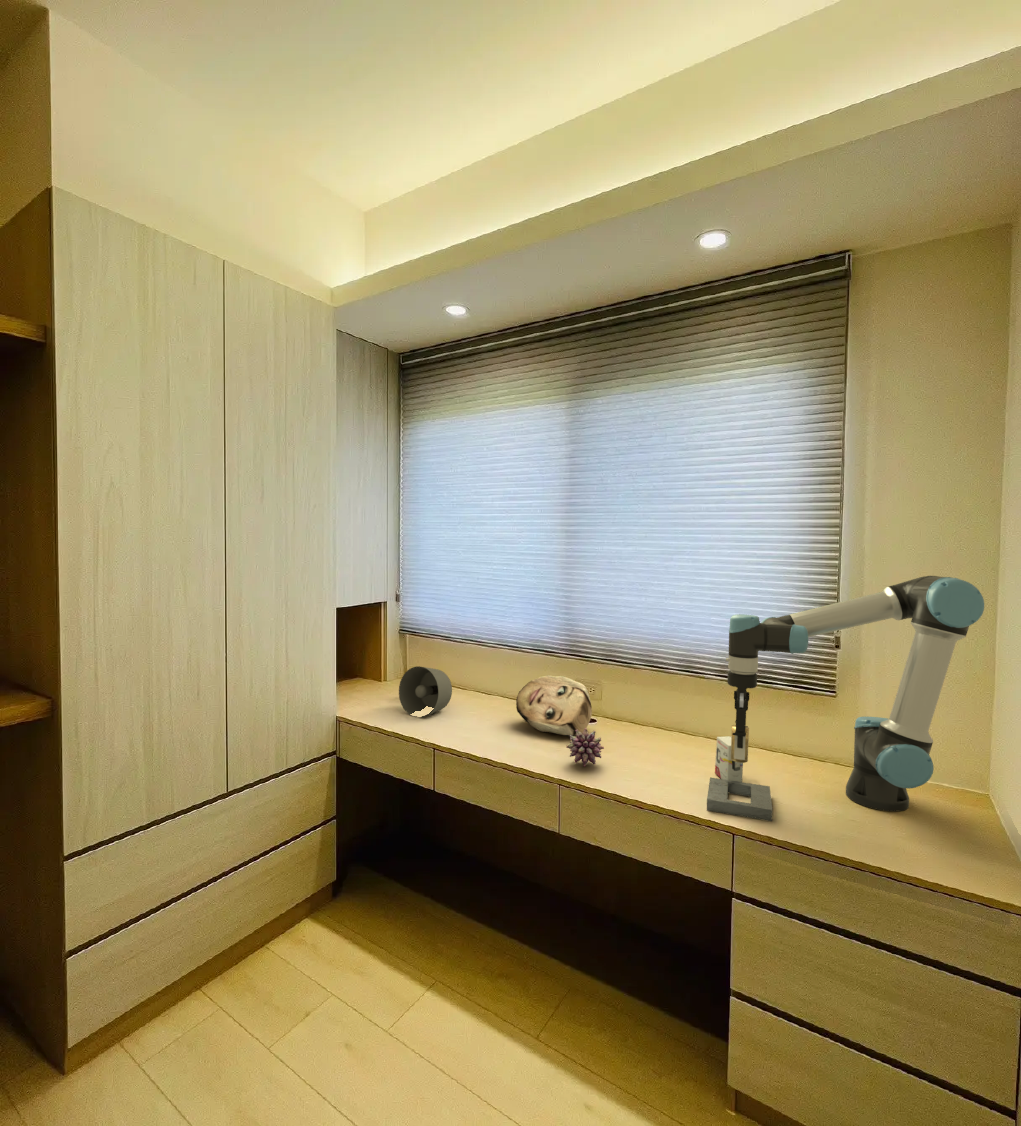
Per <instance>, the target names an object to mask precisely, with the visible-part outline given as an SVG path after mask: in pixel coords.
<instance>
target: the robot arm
mask: <svg viewBox="0 0 1021 1126" xmlns="http://www.w3.org/2000/svg"><path fill="white" fill-rule="evenodd" d="M984 611H985V600H984V596H983V594H982V593H981V591H980V590H979V589H978V588H977V587H976V586H975V585H974V584H972V583H970V582H969V581H966V580H964V579H961V578H957V577H950V576H937V575H923V576H920V577H917V578H913V579H910V580H907V581H906V580H905V581H903V582H901V583H899V582H898V583H896V584H893V585H889V586H885V587H884V589H883V590H882V591H881V592H876V593H872V594H867V595H864V596H861V597H860V596H859V597H856V598H851V599H847V600H844V601H843V600H842V601H840V602H839V601H838V602H835V603H834V602H833V603H831V604H827V605H823V606H819V607H816V608H810V609H806V610H802V611H799V612H793V613H790V614H786V615H782V616H778V617H777V616H770V617H766V618H764V619H762V620H761V621H760V618H759V616H757V615H753V614H741V613H739V614H733V615H732V616H731V617H730V620H729V621H730V622H729V629H728V657H726V658H725V661H726V662H728V663H727V664H728V665H727V668H728V671H727V682H726V683H727V685H729V686H731V687H734V688H736V690H733V692H734V693H733V699H734V710H735V721H734V723H735V725H736V731H735V733H733V735H735V745H734V759H740V760H745V739H746V733H745V730H746V726H747V722H746V721H747V711H748V710H749V701H750V692H749V691H747V689H755V688H756V687H757V686H758V674H757V672H758V670H759V667H758V666H759V652H773V653H786V654H792V655H793V654H804V653H806V652H807V651H808V647H809V638H811V637H815V636H816V637H817V636H821V635H824V634H828V633H832V632H838V631H842V630H846V629H851V628H854V627H860V626H863V625H867V624H872V623H876V622H880V621H886V620H889V619H890V620H891V619H894V620H896V621H902V620H906V619H911V620H910V624H911V625H912V627H913V629H914V630H915V632H914V635H913V639H912V642H911V646H910V648H909V652H908V656H907V659H906V662H905V665H904V669H903V671H902V675H901V679H900V682H899V685H898V688H897V692H896V695H895V697H894V702H893V705H892V709H891V712H890V715H889V717H888V718H887V717H878V716H859V717H857V718H856V719H855V723H854V724H855V725H854V728H853V730H854V741H853V742H854V746H853V750H854V751H853V752H854V754H853V769H852V771H851V774H850V775H849V778H848V780H847V782H846V784H845V796H846V797H847V798H848V799H850V800H851V801H852V802H854V803H856V804H858V805H861V806H864V807H867V808H870V809H873V810H879V811H887V812H903V811H907V810H908V809H909V808H910V797H909V794H908V790H907V789H915V788H918V787H921V786H923V785H925V784H926V783H928V781H930V780H931V778H932V776H933V773H934V769H935V767H934V763H933V760H932V758H931V756H930V752H931V750H932V746H933V744H934V740H933V738H932V735H930V733H929V730H930V728H931V725H932V720H933V717H934V715H935V711H936V709H937V706H938V702H939V699H940V695H941V691H942V688H943V685H944V682H945V679H946V675H947V672H948V669H949V666H950V663H951V659H952V657H953V653H954V651H955V646H956V644H957V642H958V641H960V640H962V639H964V638H966V637H967V634H968V631H969V628H970V626H972V625H974V623H977V621H979V620H980V619H981V618H982V616H983V614H984ZM747 727H748V728H749V726H747Z"/></svg>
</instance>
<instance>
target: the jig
mask: <svg viewBox="0 0 1021 1126" xmlns="http://www.w3.org/2000/svg"><path fill="white" fill-rule="evenodd" d="M708 783H709V784H708V788H707V789H708V791H707V797H706V811H708V812H713V813H714V812H715V813H720V814H727V815H733V816H737V817H744V818H749V819H754V820H761V821H767V822H773V805H772V804H773V803H772V796H771V795H772V794H771V787H770V786H769V785H764V784H763V785H762V784H756V783H750V782H743V781H742V782H737V781H731V780H724V779H721V778H719V777H718V778H717V777H716V778H715V777H709V782H708ZM728 794H730V795H731V794H732V795H737V796H743V797H750V799H749V800H750V803H749V802H745V801H738V800H731V799H728V798H729V795H728Z"/></svg>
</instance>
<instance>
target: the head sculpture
mask: <svg viewBox="0 0 1021 1126" xmlns="http://www.w3.org/2000/svg"><path fill="white" fill-rule="evenodd" d="M515 701H516V703H515V704H516V705H515V706H516V707H515V708H516V711H517V713H518V715H519V716H520V717H521V718H522V719H523V721H525V722H526V724H528V725H530V726H531V727H532V728H534V729H536V730H538V731H539V732H542V733H548V732H549V733H553V734H556V735H559V736H560V735H561V736H570V735H571V736H576V731H575V730H578V731H579V732H581V733H582V734H583V732H584V730H585V728H587V729H588V726H589V725H590V721H591V719H592V715H593V712H592V711H593V709H592V701H591V696H590V694H589V690H588V689H587V687H586V686H585V685H584V684H583V683H581V682H578V681H577V680H576V681H575V680H574V679H572V678H569V677H566V676H564V675H563V676H562V675H559V676H553V675H550V674H549V675H545V676H544V675H541V676H539V677H536V678H534V679H532V680H530V681H528V682H527V683H526V684H525V685H524V686H523V687H522V688H521V689H520V691H518V694H517V696H516V700H515Z"/></svg>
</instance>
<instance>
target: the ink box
mask: <svg viewBox="0 0 1021 1126" xmlns="http://www.w3.org/2000/svg"><path fill="white" fill-rule="evenodd" d="M715 749H716V750H715V765H714V774H715V775H716V776H717V777H718V778H719V779H724V780H731V781H737V782H743V770H744V763H740V762H735V761H733V760H731V736H729V735H727V736H716V748H715Z"/></svg>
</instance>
